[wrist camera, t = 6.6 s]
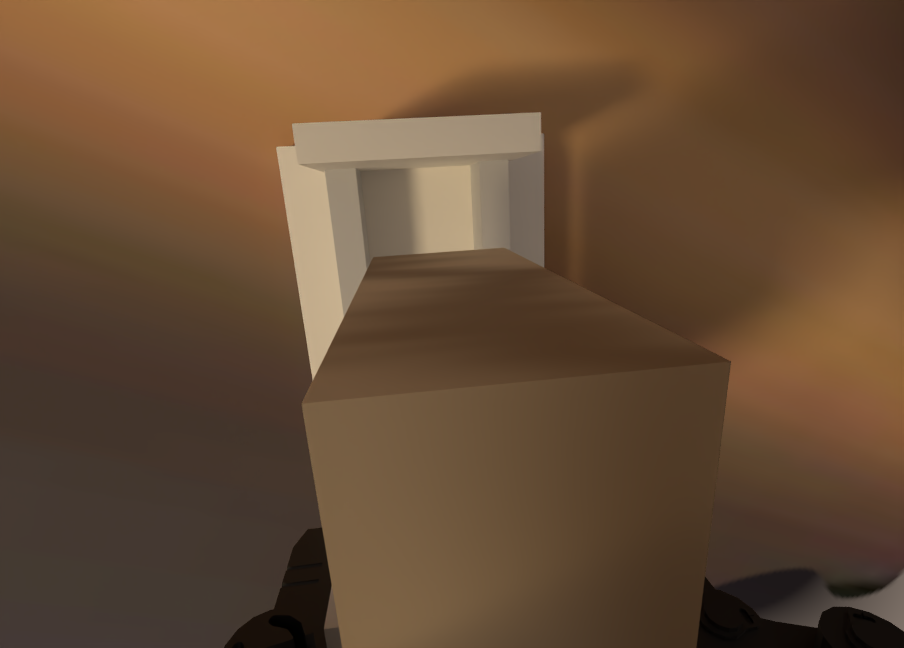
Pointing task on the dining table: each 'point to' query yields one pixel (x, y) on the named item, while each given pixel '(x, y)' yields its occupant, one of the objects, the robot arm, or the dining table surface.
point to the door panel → (511, 461)
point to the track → (405, 200)
